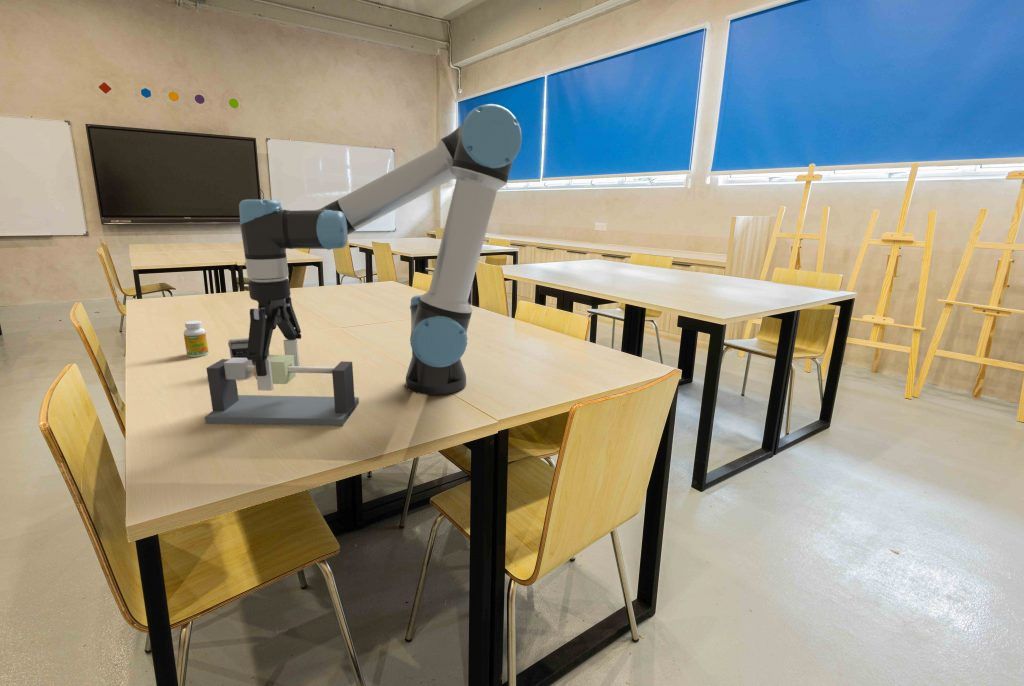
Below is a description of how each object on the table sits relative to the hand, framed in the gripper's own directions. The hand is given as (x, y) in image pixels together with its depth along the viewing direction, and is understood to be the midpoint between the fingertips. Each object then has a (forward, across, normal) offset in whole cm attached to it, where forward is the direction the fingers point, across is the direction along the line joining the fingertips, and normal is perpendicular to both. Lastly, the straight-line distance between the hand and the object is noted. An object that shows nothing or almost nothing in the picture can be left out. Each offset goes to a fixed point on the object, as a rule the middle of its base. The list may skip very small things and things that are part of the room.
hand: (280, 378), depth 108 cm
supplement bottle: (+8, -40, -42) cm, 58 cm away
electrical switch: (+8, -27, -20) cm, 34 cm away
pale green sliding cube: (0, 0, 0) cm, 0 cm away
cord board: (+8, 0, 0) cm, 8 cm away
